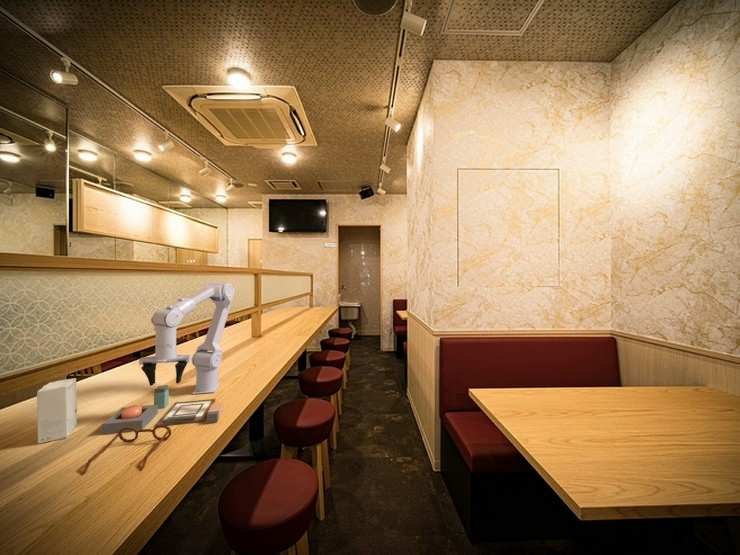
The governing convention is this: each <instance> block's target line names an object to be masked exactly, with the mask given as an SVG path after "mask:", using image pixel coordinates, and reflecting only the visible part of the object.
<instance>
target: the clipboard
mask: <svg viewBox="0 0 740 555" xmlns="http://www.w3.org/2000/svg"><path fill="white" fill-rule="evenodd" d="M215 402H216V398H210V399H201V400H199V399H198V400H188V401H177V402H176V401H175V402H174V403H173V405H172V406H171V407H170V408H169V409H168V410H167V412H165V413H164V415H163V416H162V417H161V418H160V419H159V420H158V422H157V423H156V424H155V427H156V426H159V425H165V426H168V427H170V426H177V425H186V424H194V423H195V424H196V423H203V422H204V421H205V419H206V418H207V414H208V411H209V409H210V408H211V406H212V404H215ZM155 427H154V428H155Z"/></svg>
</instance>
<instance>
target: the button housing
mask: <svg viewBox="0 0 740 555" xmlns="http://www.w3.org/2000/svg"><path fill="white" fill-rule="evenodd" d="M141 406H142V414H141V415H140V416H139V417H138V418H128V419H122V410H123V409H124V408H126V407H121V408H120V409H119V410H118V411H117V412H115V413H114V414H113V415H111V416H110V417H109V418H107V419H106V420H105V421H104V422H102V424H101V435H107V434H109V435H110V434H118V433H119V431H120V430H121V429H122V428H124V427H133V428H135V429H137V430H138V431H139V430H141V429H145V428H146V427H147V426H148V425H149V423H150V422H151V421H152V420H154V418H156V416H157V415H158V414H159V409H158V405H154V404H149V405H141ZM126 432H127V433H128V432H134V431H133V430H129V429H127V430H123V431H122V433H126Z"/></svg>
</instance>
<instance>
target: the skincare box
mask: <svg viewBox="0 0 740 555" xmlns="http://www.w3.org/2000/svg"><path fill="white" fill-rule="evenodd" d="M36 404H37V405H36V406H37V407H36V408H37V409H36V410H37V411H36V412H37V417H36V418H37V419H36V420H37V421H36V423H37V426H36V427H37V444H39V445H40V444H43V443H47V442H55V441H58V440H62V439H63V440H64V439H67V438H68V437H69V435H70V433H72V431H73V430H74V429H75V427H76V426H77V425H78V413H77V411H78V410H77V407H78V406H77V405H78V402H77V378H76V377H75V378H74V377H73V378H68V379H61V380H54V381H50V382H49V383H47V384H45V385H43V386H42V387H41V388H40V389H38V390H37V391H36Z"/></svg>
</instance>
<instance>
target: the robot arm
mask: <svg viewBox="0 0 740 555" xmlns="http://www.w3.org/2000/svg"><path fill="white" fill-rule="evenodd" d="M235 293H236V291H235V288H234V286H233V284H231V282H230V283H228V282H227V283H225V282H223V283H222V282H209V283H207V284H204V286H203V288H202V289H200V290H198V291H197V292H196V293H195V294H193V295H191V296H190V297H180V298H178V299H177V301H176V302H174V303H172V304H169V305H167V307H166V308H165V309H163V308H162V309H158V310H157V311H155V312H154V313H153V314H152V317H151V318H150V321H151V324H152V325H153V326H154V328H153V329H154V331H155V352H154V353H155V354H154V355H153V356H145V357H140V358H139V359H138V365H139V366H141V367H140V368H141V371H143V373H144V374H145V376H146V377H147V381H148V384H149V386H150V387H151V386H153V385H156V370H157V369H156V368H157V364H166V363H176V364H174V368H175V373H176V376H175V377H176V378H175V384H176V385H177V384H180V383H181V380H182V376H183V373H184V370H185V369H186V367H187V365H188V363H189V362H191V365H192V366H194V369H195V370H196V371H195V372H196V375H195V376H196V377H195V378H196V379H195V380H196V381H195V384H196V385H195V389H194V390H193V391H192V395H198V394H210V393H215V392H216V391H217V390H218V388H219V387H220V385H221V381H219V366H220V365H221V363H222V361H223V351H224V350H223V349H222V348H221V346H220V345H219V344H220V341H221V339H222V335H223V332H224V329H225V325H226V323H227V319H228V317H229V316H228V315H229V313H230V309H231V306H232V302H233V299H234V296H235ZM208 299H209V300H210V301H211V302H212V303H214V305H215V309H214V312H213V315H212V318H211V321H210V324H209V327H208V331H207V333H206V336H205V339H204V341H203V343H202V344H200V345H198V346H197V347H196V350H195V352H194V353H193V354H192V355H191V354H177V326H178V325H179V324H180V323H181V320H182V319H183V318H184V317H186V316H187V315H189V314H190V313H192V312H193V311H195V309H196V306H197V305H198V304H201V303H202V302H204V301H206V300H208Z"/></svg>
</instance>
